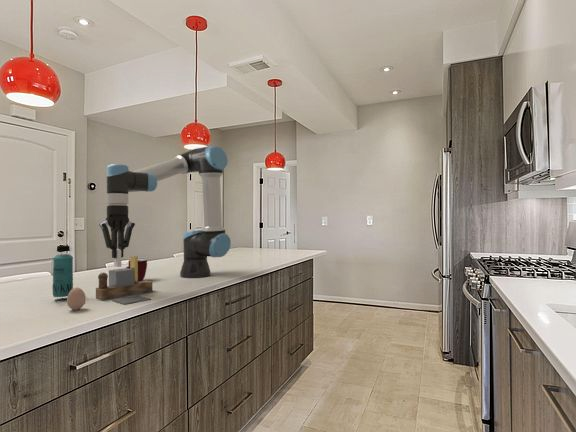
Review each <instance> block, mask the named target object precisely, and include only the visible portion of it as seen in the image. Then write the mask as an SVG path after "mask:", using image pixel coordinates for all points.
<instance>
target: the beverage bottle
mask: <svg viewBox="0 0 576 432" xmlns="http://www.w3.org/2000/svg"><path fill="white" fill-rule="evenodd" d="M70 251H71V248H70V245H65V244H63V245H58V246H56V252H58V253H59V252H61V254H55V256H54V257H53V258H52V260H53V261H52V263H53V265H52V266H53V269H52V271H53V272H52V295H53V297H54V298H64V297H67V296H68V294H69V292H70V291H71V290H72V289H73V288H74V258H73V255H71V254H69V253H67V254H66V253H65V254H64V253H63V254H62V252H70Z"/></svg>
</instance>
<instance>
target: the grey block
mask: <svg viewBox="0 0 576 432" xmlns="http://www.w3.org/2000/svg"><path fill="white" fill-rule="evenodd" d="M130 285H134V269H129V268H126V267H124V268H115V269H109V270H108V286H112V287H116V288H118V287H124V286H130Z"/></svg>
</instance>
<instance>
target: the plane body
mask: <svg viewBox="0 0 576 432" xmlns="http://www.w3.org/2000/svg"><path fill="white" fill-rule="evenodd" d="M97 277H98V287H95V300H99V301H106V300H107V301H108V300H115V299H120V298H125V297H131V296H136V295H140V294H142V295H143V294H148V293H152V292H153V281H150V280H143V281H139V282H138V283H137V284H136V283H134V285H130V286H124V287H118V288H116V287H112V286H109V285H108V279H109V274H107V273H106V272H100V273H99V274H98V276H97Z"/></svg>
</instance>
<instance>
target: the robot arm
mask: <svg viewBox="0 0 576 432" xmlns="http://www.w3.org/2000/svg"><path fill="white" fill-rule="evenodd" d="M227 165H228V157H227V153H226V152H225V150H223V148H222V147H220V146H218V145H208V146H204V147H197V148H193V149H190V150H187V151H186V152H183V153H180V154H178V155H176V156H175V157H174V158H172V159H168V160H165V161H162V162H158V163H156V164H152V165H149V166H145V167H143V168H139V169H136V170H134V171H131V170H129V166H128V165H125V164H119V163H112V164H108V165H107V167H106V175H105V176H106V204H107V206H106V218H105V221H103V222H101V223H99V224H98V225H99V227H100V229H101V230H102V234H103V238H104V243H105V245H106V246H105V247H106V248H107V249H110V250H111V258H112V259H113V266H114V268H115V267H116V268H121V267H122V258H124V250H125V249H126V248H129V246H130V242H131V238H132V232H133V229H134V227H135V226H136V223H135V222H132V221H130V218H129V206H128V204H129V193H132V192H133V193H134V192H145V193H146V192H154V191H155V190H156V189H157V187H158V182H159V181H162V180H166V179H168V178H171V177H174V176H176V175H185V174H188V173H198V176H200V177H201V178H202V179H201V181H202V184H201V185H202V204H203V205H202V206H203V225H204V226H203V227H202V229H198V230H189V231H185V232H184V234H183V263H182V266H181V269H180V271H179V276H180V277H181V278H187V279H192V278H194V279H195V278H204V277H209V276H211V269H210V265H209V263H208V257H210V258H222V257H224V256H226V254H228V252H229V251H230V248H231V237H230V236H229V234H227V233H226V228H225V227H224V226H223V222H222V221H223V218H222V197H221V196H222V194H221V192H222V191H221V177H222V176H223V175H224V169H225V168H226V167H227ZM126 226H127V227H126ZM108 227H109V228H110V229H109V228H108ZM125 228H126V229H125ZM109 230H110V231H109ZM110 233H111V234H110Z"/></svg>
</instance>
